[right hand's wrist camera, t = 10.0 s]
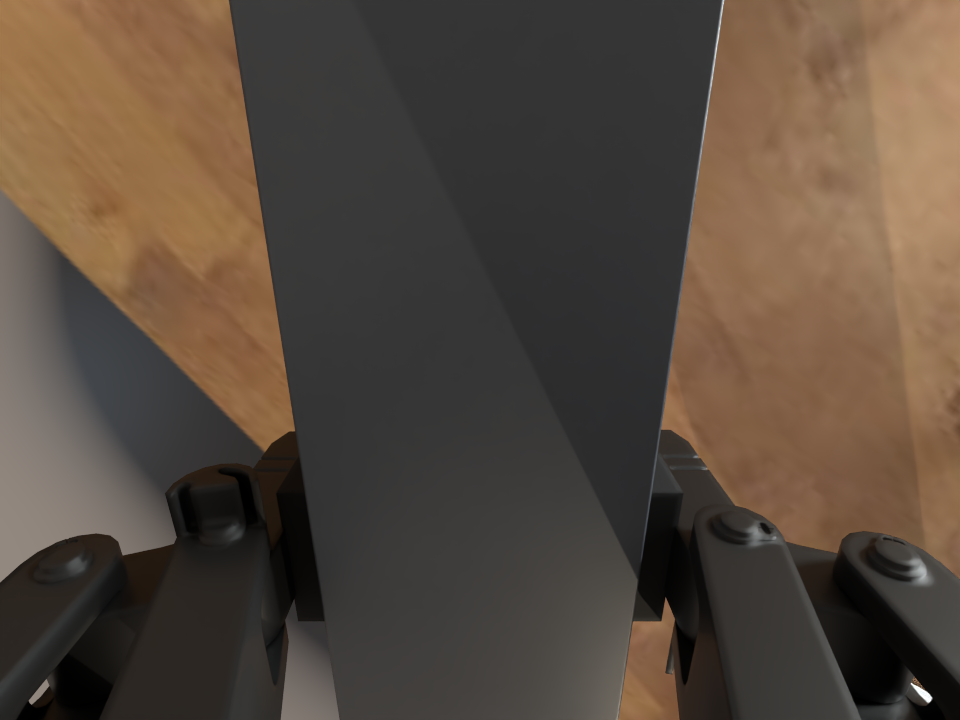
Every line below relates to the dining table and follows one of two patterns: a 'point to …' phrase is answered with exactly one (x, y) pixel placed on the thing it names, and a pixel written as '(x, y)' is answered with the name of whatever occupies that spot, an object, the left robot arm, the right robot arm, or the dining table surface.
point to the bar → (477, 326)
